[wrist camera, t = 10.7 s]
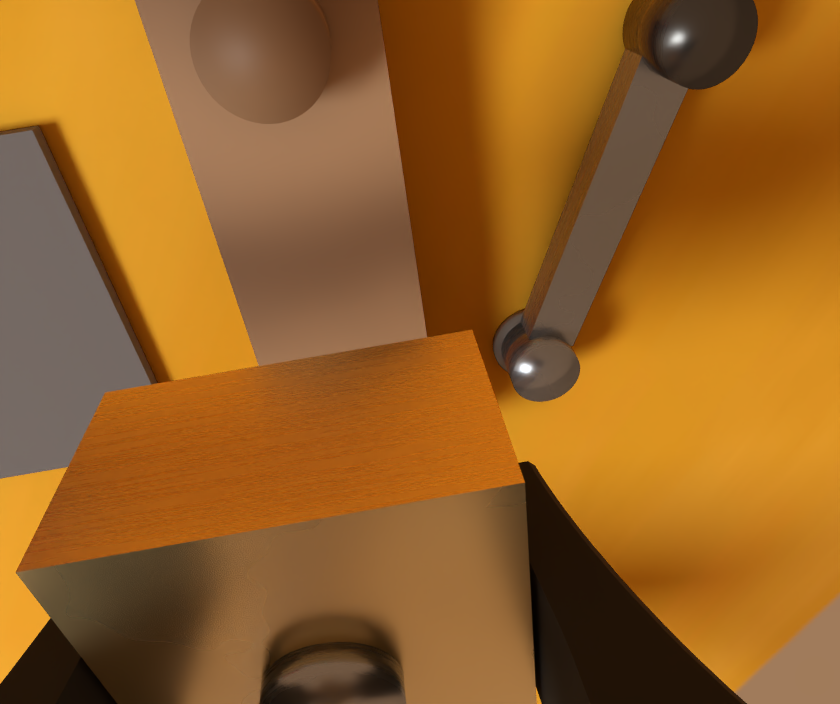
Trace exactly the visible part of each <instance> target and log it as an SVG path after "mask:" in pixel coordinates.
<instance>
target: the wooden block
mask: <svg viewBox="0 0 840 704" xmlns="http://www.w3.org/2000/svg"><path fill="white" fill-rule="evenodd" d="M16 574H17V575H18V576H19V577H20V579H21V580H22V581H23V583H24V584H25V585H26V586H27V588H28V589H29V590H30V592H31V593H32V594H33V595H34V597H35V598H36V599H37V601H38V602H39V603H40V604H41V606H42V607H43V608H44V610H45V611H46V612H47V613H48V615H49V616H50V617H51V619H52V620H53V621H54V623H55V624H56V625H57V626H58V628H59V629H60V630H61V632H62V633H63V634H64V635H65V637H66V638H67V639H68V641H69V642H70V643H71V644H72V646H73V647H74V648H75V650H76V651H77V652H78V653H79V655H80V656H81V657H82V659H83V660H84V661H85V662H86V664H87V665H88V666H89V668H90V669H91V670H92V671H93V673H94V674H95V675H96V677H97V678H98V679H99V681H100V682H101V683H102V684H103V686H104V687H105V688H106V690H107V691H108V692H109V693H110V695H111V696H112V697H113V699H114V700H115V701H116V702H117V704H537V702H536V683H535V664H534V645H533V626H532V607H531V588H530V569H529V550H528V531H527V512H526V493H525V481H524V478H523V475H522V472H521V470H520V467H519V464H518V461H517V458H516V455H515V452H514V449H513V446H512V443H511V441H510V438H509V435H508V432H507V429H506V426H505V423H504V420H503V417H502V414H501V412H500V409H499V406H498V403H497V400H496V397H495V394H494V391H493V388H492V385H491V383H490V380H489V377H488V374H487V371H486V368H485V365H484V362H483V359H482V356H481V354H480V351H479V348H478V345H477V342H476V339H475V336H474V333H473V330H467V331H461V332H455V333H449V334H443V335H438V336H432V337H426V338H420V339H414V340H408V341H403V342H397V343H391V344H385V345H379V346H373V347H368V348H362V349H356V350H350V351H344V352H338V353H333V354H327V355H321V356H315V357H309V358H303V359H298V360H292V361H286V362H280V363H274V364H268V365H263V366H257V367H251V368H245V369H239V370H233V371H227V372H222V373H216V374H210V375H204V376H198V377H192V378H187V379H181V380H175V381H169V382H163V383H157V384H152V385H146V386H140V387H134V388H128V389H122V390H117V391H111V392H105V394H104V396H103V398H102V400H101V402H100V404H99V406H98V408H97V410H96V412H95V414H94V416H93V418H92V420H91V422H90V424H89V426H88V428H87V430H86V432H85V434H84V436H83V438H82V440H81V442H80V444H79V446H78V448H77V450H76V452H75V454H74V456H73V458H72V460H71V462H70V464H69V466H68V468H67V470H66V472H65V474H64V476H63V478H62V480H61V482H60V484H59V486H58V488H57V490H56V492H55V494H54V496H53V498H52V500H51V502H50V504H49V506H48V508H47V510H46V512H45V514H44V516H43V518H42V520H41V522H40V524H39V527H38V529H37V531H36V533H35V535H34V537H33V539H32V541H31V543H30V545H29V547H28V549H27V551H26V553H25V555H24V557H23V559H22V561H21V563H20V565H19V567H18V569H17V571H16Z"/></svg>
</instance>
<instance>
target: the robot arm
mask: <svg viewBox="0 0 840 704" xmlns="http://www.w3.org/2000/svg"><path fill="white" fill-rule="evenodd" d="M518 464H519V467H520V470H521V472H522V475H523V478H524V481H525V493H526V512H527V531H528V550H529V569H530V588H531V607H532V626H533V645H534V664H535V683H536V688H537V691H538V694H539V697H540V699H541V702H542V704H747V703H745V702H744V701H743V700H742V699H741V698H740V697H739V696H738V695H736V694H735V693H734V692H733V691H732V690H731V689H730V688H729V687H728V686H727V685H726V684H724V683H723V682H722V681H721V680H720V679H719V678H718V677H717V676H716V675H715V674H714V673H713V672H712V671H711V670H710V669H708V668H707V667H706V666H705V665H704V664H703V663H702V662H701V661H700V660H699V659H698V658H697V657H696V656H695V655H694V654H693V653H692V652H691V651H690V650H689V649H688V648H687V647H686V646H685V645H684V644H683V643H682V642H681V641H680V640H679V639H678V638H677V637H676V636H675V635H674V634H673V633H672V632H671V631H670V630H669V629H668V628H667V627H666V626H665V625H664V624H663V623H662V622H661V621H660V620H659V619H658V618H657V617H656V616H655V615H654V614H653V613H652V611H651V610H650V609H649V608H648V607H647V606H646V605H645V604H644V603H643V602H642V601H641V600H640V599H639V598H638V597H637V595H636V594H635V593H634V592H633V591H632V590H631V589H630V588H629V587H628V585H627V584H626V583H625V582H624V581H623V580H622V579H621V578H620V577H619V575H618V574H617V573H616V572H615V571H614V569H613V568H612V567H611V566H610V565H609V564H608V562H607V561H606V560H605V559H604V558H603V557H602V555H601V554H600V553H599V552H598V551H597V550H596V548H595V547H594V546H593V545H592V544H591V542H590V541H589V540H588V539H587V537H586V536H585V535H584V534H583V532H582V531H581V530H580V529H579V527H578V526H577V525H576V523H575V522H574V521H573V520H572V518H571V517H570V516H569V514H568V513H567V512H566V510H565V509H564V508H563V506H562V505H561V504H560V502H559V501H558V500H557V498H556V497H555V495H554V494H553V492H552V491H551V490H550V488H549V487H548V485H547V484H546V482H545V481H544V479H543V478H542V476H541V475H540V473H539V471H538V470H537V468H536V466H535V465H533V464H532V463H530V462H528V461H527V462H521V463H518ZM0 704H117V702H116V701H115V700H114V699H113V697H112V696H111V695H110V693H109V692H108V691H107V690H106V688H105V687H104V686H103V684H102V683H101V682H100V681H99V679H98V678H97V677H96V675H95V674H94V673H93V671H92V670H91V669H90V668H89V666H88V665H87V664H86V662H85V661H84V660H83V659H82V657H81V656H80V655H79V653H78V652H77V651H76V650H75V648H74V647H73V646H72V644H71V643H70V642H69V641H68V639H67V638H66V637H65V635H64V634H63V633H62V632H61V630H60V629H59V628H58V626H57V625H56V624H55V623H54V621H53V620H52V619H51V618H50V620H49V621H48V622H47V624H46V625H45V626H44V628H43V629H42V630H41V632H40V633H39V634H38V636H37V637H36V638H35V640H34V641H33V642H32V643H31V645H30V646H29V647H28V649H27V650H26V651H25V653H24V654H23V655H22V657H21V658H20V659H19V660H18V662H17V663H16V664H15V666H14V667H13V668H12V670H11V671H10V672H9V674H8V675H7V676H6V677H5V679H4V680H3V681H2V683H1V684H0Z"/></svg>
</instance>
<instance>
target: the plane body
mask: <svg viewBox="0 0 840 704" xmlns="http://www.w3.org/2000/svg"><path fill="white" fill-rule="evenodd" d="M135 2H136V5H137V8H138V11H139V14H140V17H141V20H142V23H143V26H144V29H145V32H146V34H147V37H148V40H149V43H150V46H151V49H152V52H153V55H154V58H155V61H156V64H157V67H158V70H159V73H160V76H161V79H162V82H163V85H164V88H165V90H166V93H167V96H168V99H169V102H170V105H171V108H172V111H173V114H174V117H175V120H176V123H177V126H178V129H179V132H180V135H181V138H182V141H183V144H184V146H185V149H186V152H187V155H188V158H189V161H190V164H191V167H192V170H193V173H194V176H195V179H196V182H197V185H198V188H199V191H200V194H201V197H202V200H203V202H204V205H205V208H206V211H207V214H208V217H209V220H210V223H211V226H212V229H213V232H214V235H215V238H216V241H217V244H218V247H219V250H220V253H221V256H222V258H223V261H224V264H225V267H226V270H227V273H228V276H229V279H230V282H231V285H232V288H233V291H234V294H235V297H236V300H237V303H238V306H239V309H240V312H241V314H242V317H243V320H244V323H245V326H246V329H247V332H248V335H249V338H250V341H251V344H252V347H253V350H254V353H255V356H256V359H257V362H258V365H259V366H263V365H268V364H274V363H280V362H286V361H292V360H298V359H303V358H309V357H315V356H321V355H327V354H333V353H338V352H344V351H350V350H356V349H362V348H368V347H373V346H379V345H385V344H391V343H397V342H403V341H408V340H414V339H420V338H426V337H427V332H426V326H425V319H424V312H423V305H422V298H421V292H420V285H419V278H418V271H417V264H416V258H415V251H414V244H413V237H412V230H411V224H410V217H409V210H408V203H407V197H406V190H405V183H404V176H403V169H402V163H401V156H400V149H399V142H398V135H397V129H396V122H395V115H394V108H393V101H392V95H391V88H390V81H389V74H388V67H387V61H386V54H385V47H384V40H383V33H382V27H381V20H380V13H379V6H378V0H135ZM524 310H525V309H524ZM524 310H521V311H519V312H517V313H514V314H513V315H511V316H510V317H508V318H507V319H506V320H505V321H504V322H503V323H502V324H501V325H500V326H499V328H498V329H497V331H496V333H495V336H494V339H493V351H494V354H495V357H496V360H497V362H498V363H499V365H500V366H501V367H502V368H503V369H504V370H506V371H507V372H508V370H507V368H506V365H505V363H504V360H503V357H502V353H501V347H502V343H503V340H504V338H505V336H506V335H507V333H508V332H509V331H510V330H511V329H512V328H513V327H515V326H516V325H518V324H519V323H521V318H522V315H523V313H524Z"/></svg>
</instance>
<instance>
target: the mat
mask: <svg viewBox="0 0 840 704" xmlns="http://www.w3.org/2000/svg"><path fill="white" fill-rule="evenodd" d="M152 384H157V381H156V379H155V376H154V374H153V372H152V370H151V368H150V366H149V363H148V361H147V359H146V357H145V355H144V353H143V350H142V348H141V346H140V344H139V342H138V340H137V337H136V335H135V333H134V331H133V329H132V327H131V324H130V322H129V320H128V318H127V316H126V314H125V311H124V309H123V307H122V305H121V303H120V301H119V298H118V296H117V294H116V292H115V290H114V288H113V285H112V283H111V281H110V279H109V277H108V275H107V272H106V270H105V268H104V266H103V264H102V262H101V259H100V257H99V255H98V253H97V251H96V249H95V246H94V244H93V242H92V240H91V238H90V236H89V233H88V231H87V229H86V227H85V225H84V222H83V220H82V218H81V216H80V214H79V212H78V209H77V207H76V205H75V203H74V201H73V199H72V196H71V194H70V192H69V190H68V188H67V186H66V183H65V181H64V179H63V177H62V175H61V173H60V170H59V168H58V166H57V164H56V162H55V160H54V157H53V155H52V153H51V151H50V149H49V147H48V144H47V142H46V140H45V138H44V136H43V134H42V131H41V129H40V127H39V126H33V127H27V128H20V129H14V130H8V131H2V132H0V478H6V477H12V476H18V475H23V474H29V473H35V472H41V471H46V470H52V469H58V468H64V467H68V466H69V464H70V462H71V460H72V458H73V456H74V454H75V452H76V450H77V448H78V446H79V444H80V442H81V440H82V438H83V436H84V434H85V432H86V430H87V428H88V426H89V424H90V422H91V420H92V418H93V416H94V414H95V412H96V410H97V408H98V406H99V404H100V402H101V400H102V398H103V396H104V394H105V392H111V391H117V390H122V389H128V388H134V387H140V386H146V385H152Z"/></svg>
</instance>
